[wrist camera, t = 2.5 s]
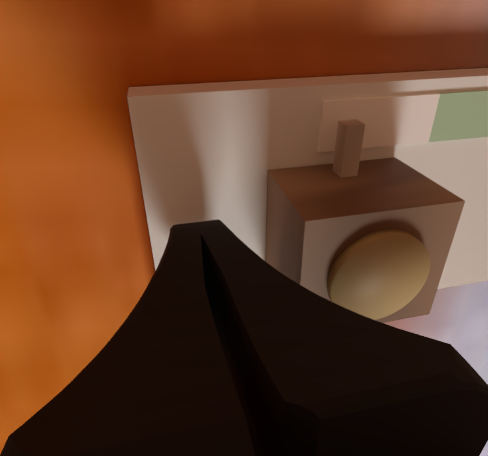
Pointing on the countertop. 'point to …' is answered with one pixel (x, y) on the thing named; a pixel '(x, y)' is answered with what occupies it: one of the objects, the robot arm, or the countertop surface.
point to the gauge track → (309, 147)
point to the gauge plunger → (361, 230)
